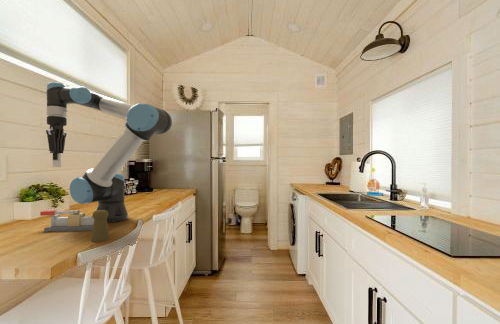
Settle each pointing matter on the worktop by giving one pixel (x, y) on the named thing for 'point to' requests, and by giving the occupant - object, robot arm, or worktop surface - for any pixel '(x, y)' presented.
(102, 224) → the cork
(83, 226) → the valve board
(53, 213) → the lever
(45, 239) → the worktop surface
